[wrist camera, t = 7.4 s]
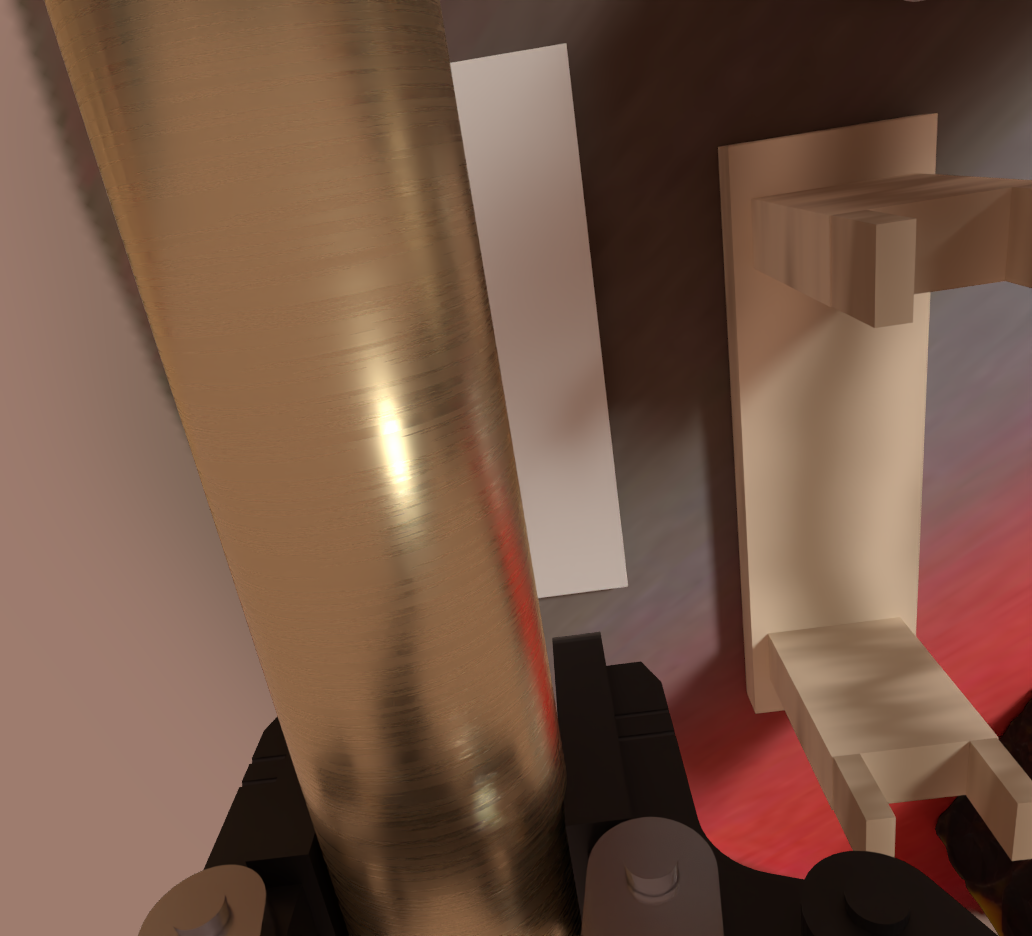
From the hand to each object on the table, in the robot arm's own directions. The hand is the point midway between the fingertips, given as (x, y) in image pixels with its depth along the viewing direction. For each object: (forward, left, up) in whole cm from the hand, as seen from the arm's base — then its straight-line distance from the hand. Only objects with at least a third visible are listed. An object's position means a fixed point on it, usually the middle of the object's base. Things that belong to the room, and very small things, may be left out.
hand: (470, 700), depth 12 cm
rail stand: (-12, +6, -21) cm, 25 cm away
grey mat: (0, 0, -21) cm, 21 cm away
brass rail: (0, 0, +1) cm, 1 cm away
